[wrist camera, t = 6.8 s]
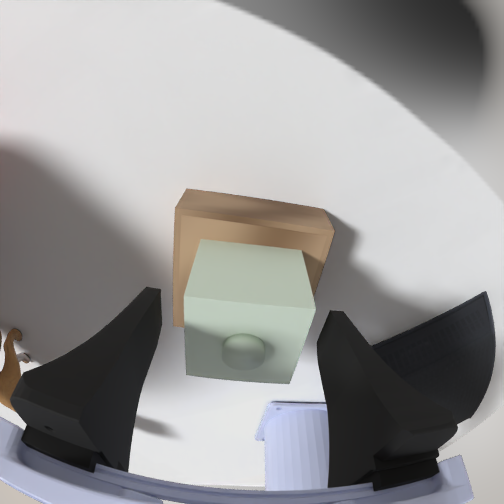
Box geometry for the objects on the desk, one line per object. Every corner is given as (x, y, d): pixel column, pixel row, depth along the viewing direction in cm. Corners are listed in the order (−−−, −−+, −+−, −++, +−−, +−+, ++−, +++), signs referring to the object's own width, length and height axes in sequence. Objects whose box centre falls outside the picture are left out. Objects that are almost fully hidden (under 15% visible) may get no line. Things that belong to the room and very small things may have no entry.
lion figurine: (116, 403, 26) (95, 479, 18) (93, 412, 28) (73, 477, 20) (1, 311, 20) (-46, 382, 12) (-9, 331, 22) (-48, 393, 14)
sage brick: (301, 250, 14) (318, 319, 10) (283, 322, 16) (290, 393, 12) (200, 238, 13) (180, 305, 10) (198, 314, 16) (184, 384, 12)
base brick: (323, 209, 15) (335, 231, 13) (293, 311, 19) (297, 341, 17) (186, 188, 15) (175, 208, 13) (181, 297, 18) (173, 326, 16)
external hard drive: (379, 432, 30) (385, 459, 27) (347, 349, 22) (359, 392, 18) (471, 391, 27) (482, 415, 24) (489, 282, 19) (515, 314, 15)
